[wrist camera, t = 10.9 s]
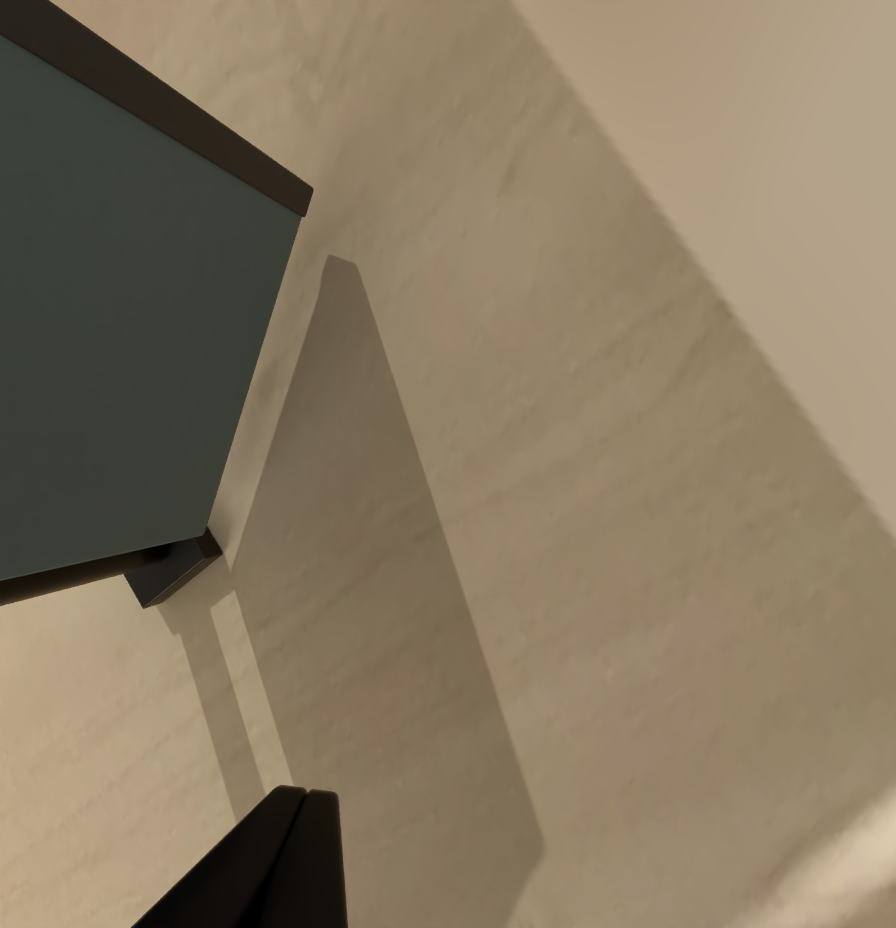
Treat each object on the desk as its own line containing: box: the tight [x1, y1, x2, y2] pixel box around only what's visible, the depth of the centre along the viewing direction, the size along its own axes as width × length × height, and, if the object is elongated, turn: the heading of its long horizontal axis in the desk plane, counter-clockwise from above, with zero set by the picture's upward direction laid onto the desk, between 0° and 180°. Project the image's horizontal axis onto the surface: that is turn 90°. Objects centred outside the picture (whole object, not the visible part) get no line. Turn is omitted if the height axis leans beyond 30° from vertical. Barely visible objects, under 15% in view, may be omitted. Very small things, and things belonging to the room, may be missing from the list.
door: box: [0, 0, 313, 581], centre depth 12 cm, size 1×10×12 cm, turn 159°
